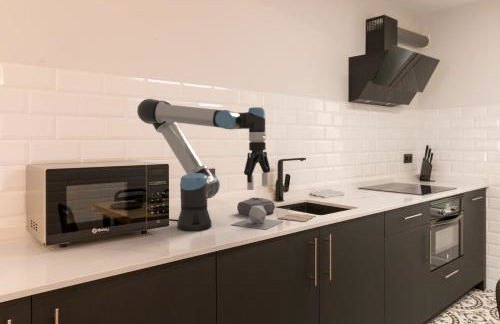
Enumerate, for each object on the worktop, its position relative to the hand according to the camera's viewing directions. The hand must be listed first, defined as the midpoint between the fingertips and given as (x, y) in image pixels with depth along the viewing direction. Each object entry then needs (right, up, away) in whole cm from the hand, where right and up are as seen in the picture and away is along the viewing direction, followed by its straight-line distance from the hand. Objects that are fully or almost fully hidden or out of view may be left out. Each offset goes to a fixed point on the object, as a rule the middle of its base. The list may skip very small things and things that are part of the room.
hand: (257, 188), depth 172 cm
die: (0, -16, +1) cm, 16 cm away
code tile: (0, -16, +1) cm, 16 cm away
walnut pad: (+20, -16, +13) cm, 28 cm away
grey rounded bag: (0, -15, +25) cm, 30 cm away
